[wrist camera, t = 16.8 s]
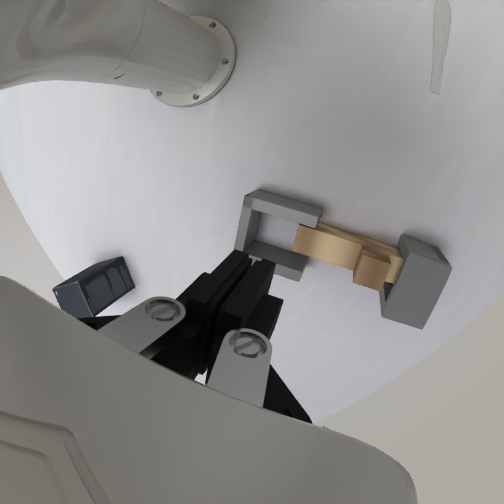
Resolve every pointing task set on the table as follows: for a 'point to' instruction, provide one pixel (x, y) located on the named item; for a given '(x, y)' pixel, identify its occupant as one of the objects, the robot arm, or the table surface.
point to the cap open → (280, 207)
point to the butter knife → (440, 42)
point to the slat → (351, 253)
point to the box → (94, 288)
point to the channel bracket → (415, 283)
